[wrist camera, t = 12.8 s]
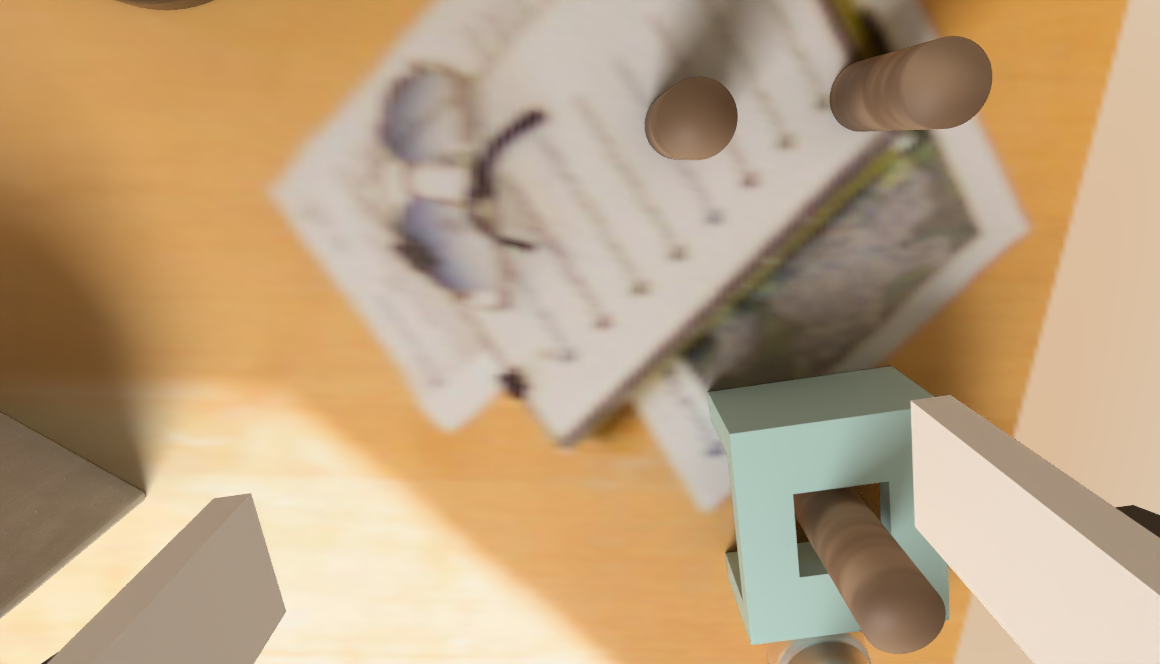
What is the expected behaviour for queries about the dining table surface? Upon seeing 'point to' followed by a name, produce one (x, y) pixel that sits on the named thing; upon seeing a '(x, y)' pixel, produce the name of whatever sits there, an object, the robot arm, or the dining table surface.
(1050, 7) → the dining table surface
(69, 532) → the planter
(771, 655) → the plastic bottle
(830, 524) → the pin long
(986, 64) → the pin medium
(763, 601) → the bridge
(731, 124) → the pin short
